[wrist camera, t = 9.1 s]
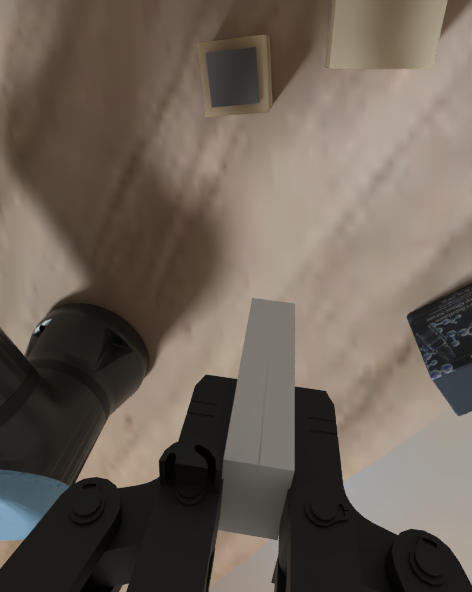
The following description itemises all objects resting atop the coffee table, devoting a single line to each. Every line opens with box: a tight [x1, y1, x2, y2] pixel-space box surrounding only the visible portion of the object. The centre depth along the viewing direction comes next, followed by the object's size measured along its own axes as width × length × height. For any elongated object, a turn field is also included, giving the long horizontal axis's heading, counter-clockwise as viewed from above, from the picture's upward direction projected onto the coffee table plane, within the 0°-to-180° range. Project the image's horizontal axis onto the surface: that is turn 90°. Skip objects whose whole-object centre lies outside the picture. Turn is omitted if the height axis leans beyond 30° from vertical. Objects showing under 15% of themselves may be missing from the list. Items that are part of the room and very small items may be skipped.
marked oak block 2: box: [197, 34, 273, 117], centre depth 32 cm, size 5×5×6 cm
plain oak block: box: [324, 0, 448, 69], centre depth 28 cm, size 7×7×6 cm
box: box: [407, 284, 472, 416], centre depth 39 cm, size 8×6×11 cm
